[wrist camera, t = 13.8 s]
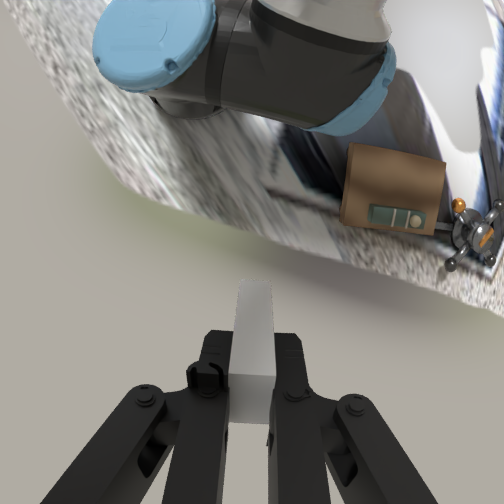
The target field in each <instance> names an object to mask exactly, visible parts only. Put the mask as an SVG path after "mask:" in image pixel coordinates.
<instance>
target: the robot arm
mask: <svg viewBox="0 0 504 504" xmlns="http://www.w3.org/2000/svg"><path fill="white" fill-rule="evenodd" d="M386 1H387V0H112V1H111V3H110V4H109V5H108V6H107V8H106V9H105V11H104V12H103V14H102V15H101V17H100V19H99V21H98V23H97V26H96V29H95V32H94V36H93V45H92V50H93V57H94V61H95V63H96V66H97V67H98V69H99V71H100V73H101V74H102V75H103V76H104V77H105V78H106V79H107V80H108V81H110V82H111V83H113V84H115V85H117V86H118V87H119V88H120V89H122V90H125V91H127V92H132V93H142V94H145V95H148V96H149V97H150V98H151V100H152V101H153V102H154V104H155V105H156V106H157V107H159V108H160V109H161V110H162V111H164V112H165V113H167V114H169V115H172V116H175V117H178V118H183V119H203V118H207V117H211V116H213V115H216V114H218V113H220V112H222V111H223V110H225V109H226V108H228V109H232V110H237V111H241V112H245V113H249V114H253V115H257V116H261V117H265V118H269V119H272V120H276V121H280V122H283V123H287V124H290V125H293V126H297V127H300V128H301V129H303V130H308V131H317V132H321V133H325V134H329V135H333V136H346V135H349V134H352V133H354V132H356V131H357V130H359V129H360V128H362V127H363V126H364V125H365V124H366V123H367V122H368V121H369V120H370V119H371V118H372V117H373V115H374V114H375V113H376V111H377V110H378V109H379V107H380V106H381V104H382V103H383V101H384V99H385V97H386V95H387V93H388V91H387V86H388V85H389V83H391V82H392V81H393V77H394V74H395V70H396V54H395V51H394V48H393V46H392V45H391V44H390V43H389V42H388V40H389V38H390V35H391V33H392V31H391V27H390V25H389V23H388V21H387V19H386V17H385V14H384V12H383V7H384V5H385V3H386ZM186 375H187V383H188V387H187V388H185V389H183V390H181V391H175V392H167V393H163V391H162V390H161V389H160V388H158V387H156V386H154V385H149V384H144V385H139V386H136V387H134V388H132V389H131V390H130V391H129V392H128V393H127V394H126V396H125V397H124V398H123V399H122V401H121V402H120V403H119V405H118V406H117V407H116V408H115V409H114V411H113V412H112V413H111V414H110V416H109V417H108V418H107V419H106V421H105V422H104V423H103V424H102V426H101V427H100V428H99V429H98V431H97V432H96V433H95V434H94V436H93V437H92V438H91V440H90V441H89V442H88V443H87V445H86V446H85V447H84V448H83V450H82V451H81V452H80V453H79V455H78V456H77V457H76V459H75V460H74V461H73V462H72V464H71V465H70V466H69V467H68V469H67V470H66V471H65V472H64V474H63V475H62V476H61V477H60V479H59V480H58V481H57V483H56V484H55V485H54V487H53V488H52V489H51V490H50V491H49V493H48V494H47V495H46V497H45V498H44V499H43V501H42V502H41V503H40V504H140V503H141V501H142V499H143V498H144V496H145V494H146V493H147V491H148V489H149V487H150V486H151V484H152V482H153V481H154V479H155V477H156V476H157V474H158V472H159V470H160V469H161V467H162V465H163V464H164V462H165V460H166V458H167V457H168V455H169V453H170V451H171V450H172V448H173V446H174V450H173V454H172V459H171V463H170V468H169V472H168V476H167V481H166V486H165V490H164V495H163V500H162V504H222V495H223V485H224V473H225V463H226V451H227V441H228V423H229V422H234V423H252V424H269V434H268V440H267V445H266V446H268V495H269V496H268V500H269V501H268V504H331V500H330V493H329V485H328V478H327V471H326V464H327V466H328V469H329V471H330V473H331V475H332V477H333V480H334V482H335V484H336V486H337V488H338V490H339V492H340V494H341V497H342V499H343V501H344V503H345V504H438V503H437V501H436V500H435V498H434V496H433V495H432V493H431V492H430V490H429V489H428V487H427V485H426V484H425V482H424V481H423V479H422V478H421V476H420V475H419V473H418V471H417V470H416V468H415V467H414V465H413V464H412V462H411V461H410V459H409V457H408V456H407V454H406V453H405V451H404V450H403V448H402V447H401V445H400V444H399V442H398V441H397V439H396V438H395V436H394V434H393V433H392V432H391V430H390V428H389V427H388V425H387V424H386V422H385V421H384V419H383V418H382V416H381V415H380V413H379V412H378V410H377V409H376V407H375V406H374V404H373V403H372V402H371V401H370V400H369V399H368V398H367V397H365V396H363V395H359V394H348V395H345V396H343V397H341V399H340V400H339V401H336V400H331V399H327V398H324V397H321V396H319V395H317V394H316V393H315V392H313V390H312V389H311V388H310V386H309V383H308V378H307V372H306V365H305V360H304V354H303V348H302V343H301V340H300V339H299V338H298V336H297V335H296V334H295V333H274V328H273V311H272V295H271V282H270V281H264V280H246V279H241V280H240V286H239V293H238V301H237V309H236V317H235V325H234V331H221V330H211V331H210V332H209V333H208V334H207V335H206V336H205V338H204V342H203V347H202V350H201V354H200V358H199V361H197V362H194V363H193V364H191V365H190V366H189V367H188V369H187V370H186ZM325 462H326V464H325Z"/></svg>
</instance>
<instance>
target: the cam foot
mask: <svg viewBox="0 0 504 504" xmlns="http://www.w3.org/2000/svg"><path fill="white" fill-rule="evenodd" d="M466 210H467V212H468V213H469V215H470V216H471V218H472V219H474V220H476V221H478V222H480V223H481V222H482V221H483V219H482V216H481V215H480V213H479V212H478V211H476V210H474V209H471V208H466ZM463 225H464V221H463V219H462V218H461V216H460V215H459V213H458V214H457V216H456V217H455V219H454V221H453V223H452V224H451V223H448V222H442V221H436V225H435V229H442V230H449V231H451V238H452V241H453V243H454V245H455V246H456V247H458V248H459V249H460V248H461V246H462V245H463V244H464V243H465V241H463V239H462V236H461V231H462V227H463ZM419 235H423V234H419ZM472 248H473V247H472ZM472 248H471V249H472Z"/></svg>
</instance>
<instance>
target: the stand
mask: <svg viewBox="0 0 504 504" xmlns="http://www.w3.org/2000/svg"><path fill="white" fill-rule="evenodd" d="M347 156H348V161H347V169H346V177H345V185H344V192H343V200H342V204H341V205H340V208H339V211H340V220H339V221H340V222H341V223H342V224H343V225H344V226H354V227H363V228H373V229H382V230H391V231H399V232H408V233H416V234H424V235H432V236H433V233H434V229H435V225H436V220H437V215H438V211H439V205H440V200H441V195H442V189H443V183H444V177H445V170H446V162H442V161H438V160H434V159H430V158H426V157H422V156H418V155H414V154H409V153H405V152H400V151H396V150H391V149H386V148H381V147H376V146H370V145H365V144H359V143H353V142H349V147H348V149H347Z"/></svg>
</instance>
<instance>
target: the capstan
mask: <svg viewBox="0 0 504 504" xmlns="http://www.w3.org/2000/svg"><path fill="white" fill-rule="evenodd" d="M452 209H453V210H454V212H456V213H459V215H460V216H461V218H462V219H463V221H464V225H463V227H462V231H461V236H462V239H463V241H465V243H464V244H463V245H462V246H461V248H460V249H459V250H458V251H457V252H456V253H455V254H454V256H453V257H450V258H448V259H446V261H445V263H444V266H445V269H446V270H447V271H448V272H453V271H455V270H456V268H457V264H458V263H459V261H460V260H461V259H462V258H463V257H464V256H465V255H466V253H467V252H468V251H469V250H470V249H471V248H472V247H473V249H474V251H476V252H477V253H479V254H483V255H484V257H485V264H486V265H487V266H489V267H492V266H494V265H495V263H496V257H495V255H494V254H492V253H491V252H490V250H489V249H490V247H491V245H492V243H493V240H494V231H493V228H492V227H491V226H490V224H491V223H492V221H493V220H494V219H495V217H496V216H497V215H498V213H502V212H503V211H504V202H503V201H502V200H501V199H496V200H495V201H494V203H493V208H492V209H491V210H490V212H489V213H488V214H487V216H486V217H485V218H484V220H483V221H482V222H481V223H480V222H478V221H476V220H474V219H472V218H471V216H470V215H469V213H468V212H467V210H466V204H465V202H464V200H463V199H461V198H456V199H454V200H453V202H452Z"/></svg>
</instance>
